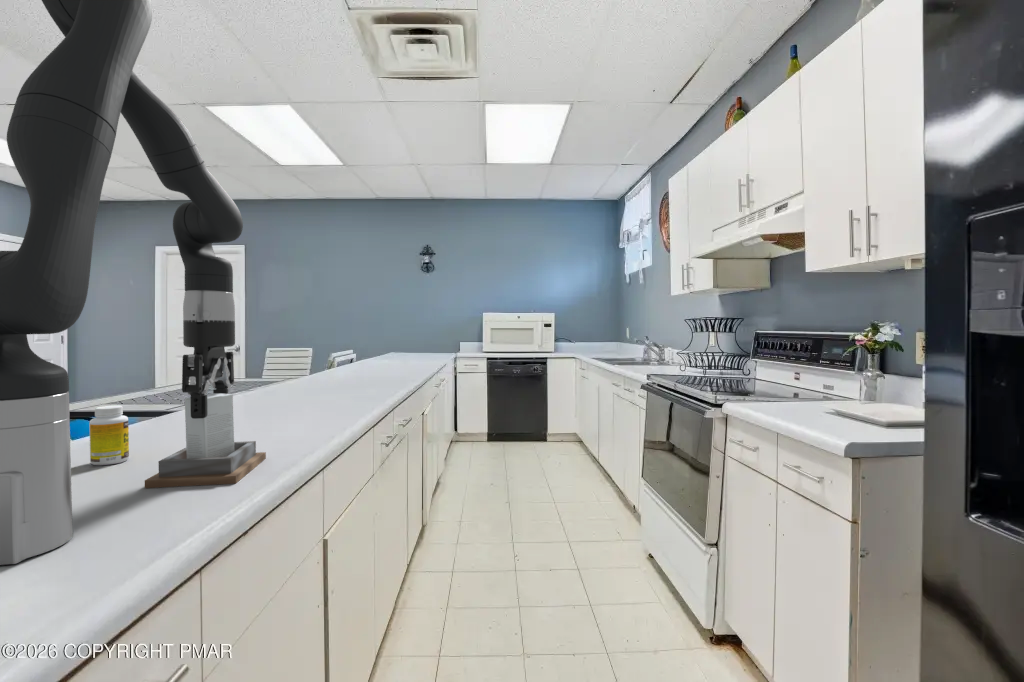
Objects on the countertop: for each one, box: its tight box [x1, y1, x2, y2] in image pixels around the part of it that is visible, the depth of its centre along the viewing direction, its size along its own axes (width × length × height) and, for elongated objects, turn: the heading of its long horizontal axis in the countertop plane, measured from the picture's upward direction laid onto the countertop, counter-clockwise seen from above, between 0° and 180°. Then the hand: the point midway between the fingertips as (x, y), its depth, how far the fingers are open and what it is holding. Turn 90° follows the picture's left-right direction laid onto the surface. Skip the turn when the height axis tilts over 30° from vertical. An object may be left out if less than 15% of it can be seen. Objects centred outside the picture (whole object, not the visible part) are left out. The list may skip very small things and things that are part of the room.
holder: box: [144, 440, 267, 489], centre depth 84 cm, size 15×13×4 cm
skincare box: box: [184, 393, 235, 459], centre depth 84 cm, size 6×4×12 cm
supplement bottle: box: [88, 404, 130, 466], centre depth 90 cm, size 6×6×10 cm
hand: (210, 413), depth 84 cm, fingers open, 8 cm apart
